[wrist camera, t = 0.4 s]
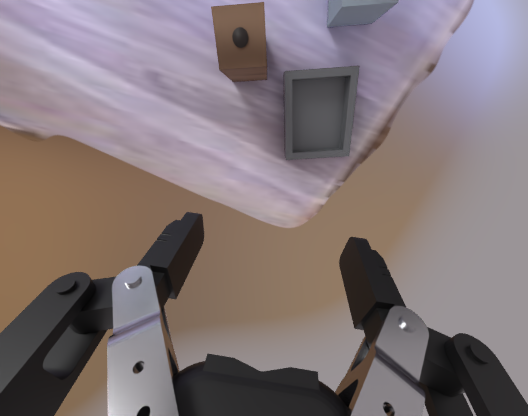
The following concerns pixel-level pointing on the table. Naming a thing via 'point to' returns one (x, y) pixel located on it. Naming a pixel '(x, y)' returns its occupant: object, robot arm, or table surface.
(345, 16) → the square socket block
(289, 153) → the tray
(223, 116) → the table surface
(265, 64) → the walnut block
